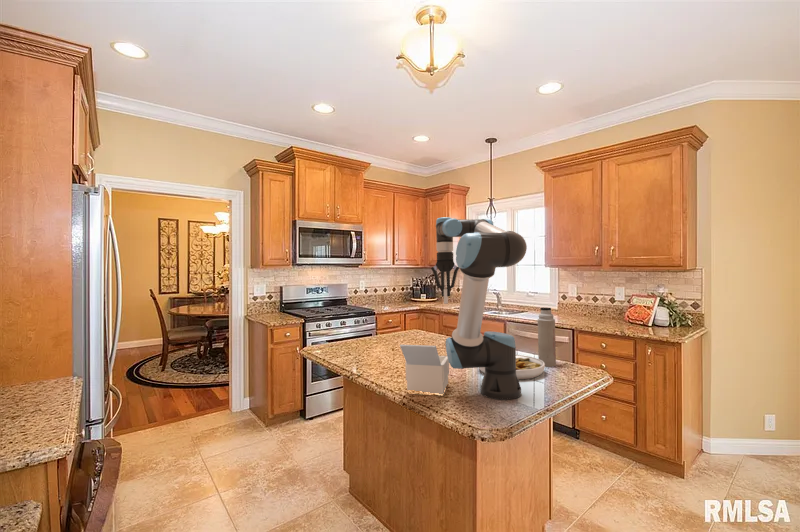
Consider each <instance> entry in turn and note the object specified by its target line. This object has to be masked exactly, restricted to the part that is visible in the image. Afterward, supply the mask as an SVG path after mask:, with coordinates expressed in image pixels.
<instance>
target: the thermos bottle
mask: <svg viewBox="0 0 800 532" xmlns="http://www.w3.org/2000/svg"><path fill="white" fill-rule="evenodd" d="M554 316H555V315H554V314H553V313H552V308H551V307H540V313H539V314H538V318H537V344H538V345H537V346H538V352H537V353H538V354H537V355H538V358H537V359H540V360H542V361H543V362H544V363H545V368H553V367H552V366H555V367H556V366H557V352H556V351H557V350H556V349H557V348H556V319H555V318H554Z"/></svg>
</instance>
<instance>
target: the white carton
mask: <svg viewBox="0 0 800 532" xmlns="http://www.w3.org/2000/svg"><path fill="white" fill-rule="evenodd" d="M439 359H440V363H441V366H431V365H411V364H407V363H406V362H405V367H404V368H405V381H406V391H407V390H415V391H422V392H430V393H439V394H443V393H444V390H445V388H446V386H447V384H448V385H449V374H450V363H449V361H448V357H447V355H439ZM444 394H445V393H444Z"/></svg>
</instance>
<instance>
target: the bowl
mask: <svg viewBox="0 0 800 532" xmlns="http://www.w3.org/2000/svg"><path fill="white" fill-rule="evenodd" d="M478 369H479V371H481V373H483V374H485V367H479V368H478ZM545 369H546V367H545V363H544V362H543V361H542V360H540V359H538V358H537V357H534V356H533V357H532V356H530V355H524V354H523V355H522V354H516V375H517V378H518V380H528V379H533V378H537V377H538V376H540V375H542V374H543V372H544V371H545Z"/></svg>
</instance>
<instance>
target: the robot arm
mask: <svg viewBox="0 0 800 532" xmlns="http://www.w3.org/2000/svg"><path fill="white" fill-rule="evenodd" d="M435 231H436V233H435V235H436V237H435V238H436V240H435V241H436V244H435V245H436V252H437V253H436V263H435V265H434V266H433V267H431V268H430V269H431V271H432V273H433V275H434V280H435V283H436V287H437V289H440V290H441V291H440V292H441V294H440V295H441V297H443V304H444V305H447V304H449V297H450V296H451V289H454V287H455V284H456V280H457V274H458V271H460V272H461V273H462V274H463V279H462V285H461V286H462V287H461V295H460V300H459V301H460V303H459V310H458V317H457V325H456V326H457V327H456V328H455V329H454V330H453V331H452V333H451V336H450V337H447V338H446V339H445V349H446V350H445V351H446V356H447V357H448V361H449V366H450V367H451V368H452V369H456V370H457V369H458V370H463V369H477V368H478V369H479V367H485V373H483V374H484V375H483V378H482V381H481V384H480V393H481V394H482V395H483V396H484V397H486V396H487V398H489V397H490V399H494V400H514V399H518V398H520V397H521V396H522V386H521V384H520V382H519V379H518V378H517V375H516V355H517V354H516V351H517V346H516V340H515V337H514V335H512V334H509V333H505V332H500V331H490V330H489V331H488V330H487V331H484V333H483V334H482V332H481V331H482V330H481V329H482V325H483V324H482V323H483V318H484V311H485V305H486V300H487V292H488V286H489V280H490V278H492V277H494V276H495V271H496V268H508V267H512V266H515V265H517V264H518V263H520V262H521V261H522V260H523V259H524V258H525V256H526V253H527V249H528V248H527V247H528V245H527V242H526V239H525V238H524V237H523V235H521V234H519V233H518V232H515V231H512V230H507V231H506V230H504V229H503V228H500V227H497V226H496V225H495V224H494V222H493V221H492V220H491V219H486V218H482V219H458V218H455V217H454V218H453V217H449V216H445V217H442V216H441V217H438V218H436V220H435ZM454 238H459V240H458V242H457V245H456V250H455V255H456V256H455V261H454V252H453V251H454ZM455 263H456V264H455ZM437 270H439V272H440V279H439V275H438V271H437ZM452 270H453V275H452V278H451V271H452ZM445 273H446V281H445ZM445 283H446V285H445ZM445 286H446V287H445Z"/></svg>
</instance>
